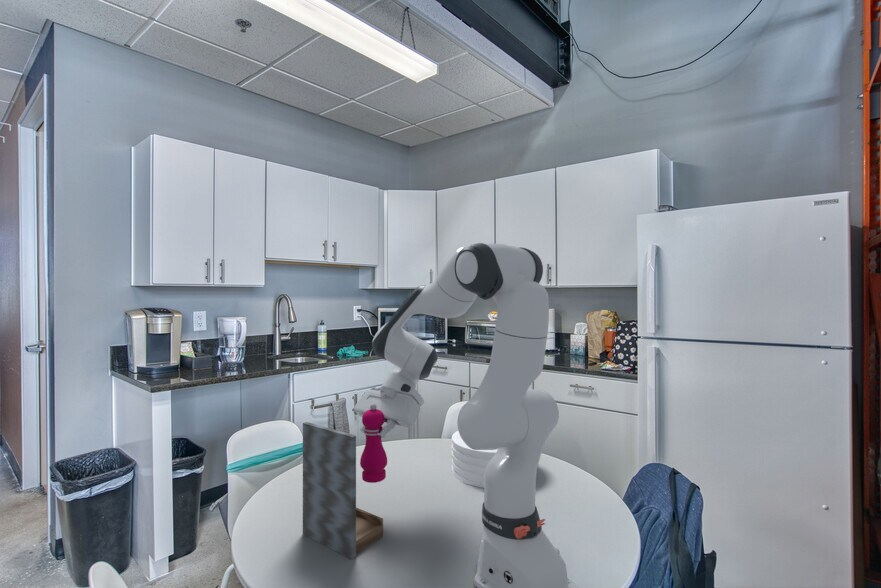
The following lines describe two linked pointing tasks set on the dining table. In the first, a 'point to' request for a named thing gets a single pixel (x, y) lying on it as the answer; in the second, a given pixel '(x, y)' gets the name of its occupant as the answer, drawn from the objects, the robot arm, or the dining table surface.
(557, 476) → the dining table surface
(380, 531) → the ledge shelf
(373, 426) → the pepper mill
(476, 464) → the plate stack
